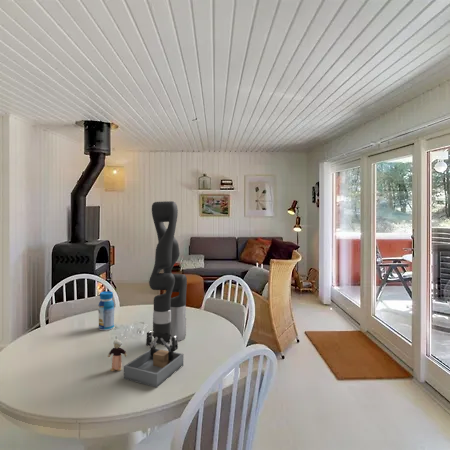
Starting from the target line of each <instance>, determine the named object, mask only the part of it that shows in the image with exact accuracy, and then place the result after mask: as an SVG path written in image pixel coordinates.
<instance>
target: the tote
mask: <svg viewBox="0 0 450 450" xmlns="http://www.w3.org/2000/svg"><path fill="white" fill-rule="evenodd" d="M159 350H163V349H161V348H156V352H157V351H159ZM164 350H165V351H168V349H164ZM181 366H182V367H183V366H184V353H182V352H175V351H173V358H172V360H170V363H169V364H168V365H166V366H165V367H164V368H161V367H157V366H153V357H152V356H151V354H150V349H149V350H147V351H145V352H143V353H142V354H141V355H139V356H137V357H135V358H133V360H130V361H129V362H128V363H126V364H124V365H123V379H124V380H128V381H131V382H136V383H139V384H142V385H147V386H150V387H153V388H158V387H159V386H160V385H162V384H163V383H164V382H166V381H167V380H168V379H169V378H170V377H171V376H172V374H173V373H174V372H175V371H176V372H178V371H179V370H180V369H181V368H182V367H181ZM180 367H181V368H180ZM179 368H180V369H179ZM178 369H179V370H178ZM176 372H175V373H176ZM175 373H174V374H175ZM174 374H173V375H174ZM167 378H168V379H167ZM166 379H167V380H166Z"/></svg>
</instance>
